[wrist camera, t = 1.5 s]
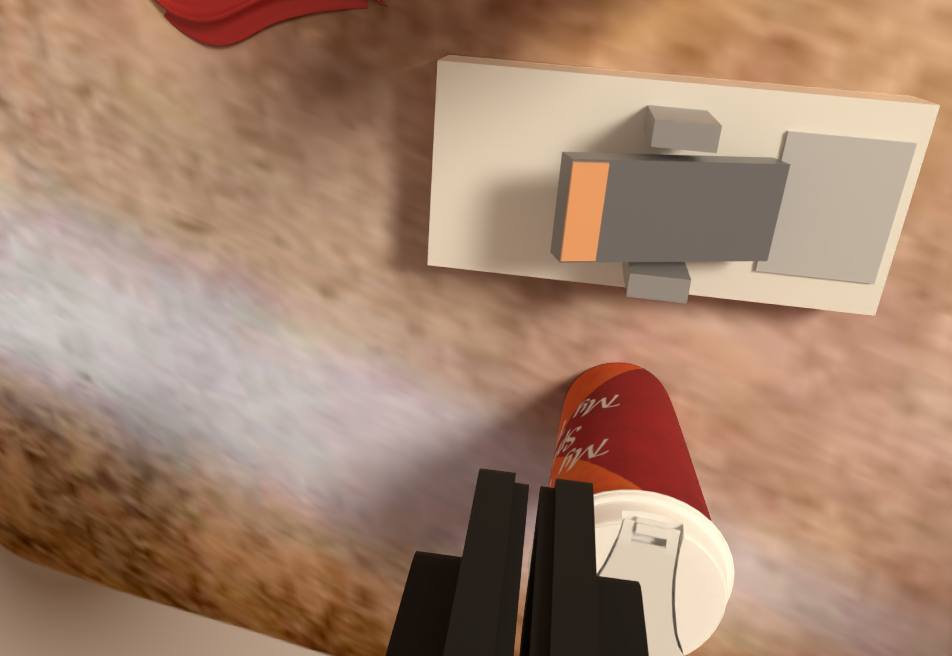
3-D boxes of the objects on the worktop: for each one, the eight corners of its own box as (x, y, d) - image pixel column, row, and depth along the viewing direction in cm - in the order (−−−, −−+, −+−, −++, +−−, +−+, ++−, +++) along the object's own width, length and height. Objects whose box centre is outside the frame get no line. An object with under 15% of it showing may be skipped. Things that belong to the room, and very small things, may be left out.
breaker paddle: (773, 157, 31) (792, 165, 30) (751, 251, 33) (769, 262, 32) (562, 151, 29) (573, 159, 28) (550, 252, 31) (560, 263, 30)
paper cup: (559, 329, 40) (547, 492, 27) (709, 359, 39) (769, 538, 26) (531, 456, 43) (508, 654, 30) (669, 485, 42) (705, 698, 30)
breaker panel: (910, 95, 33) (985, 120, 27) (853, 291, 37) (907, 352, 31) (449, 54, 35) (419, 69, 29) (438, 245, 39) (410, 294, 32)
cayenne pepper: (139, 27, 37) (116, 29, 35) (141, -81, 35) (117, -85, 33) (384, 84, 36) (374, 89, 34) (400, -22, 34) (391, -22, 33)
